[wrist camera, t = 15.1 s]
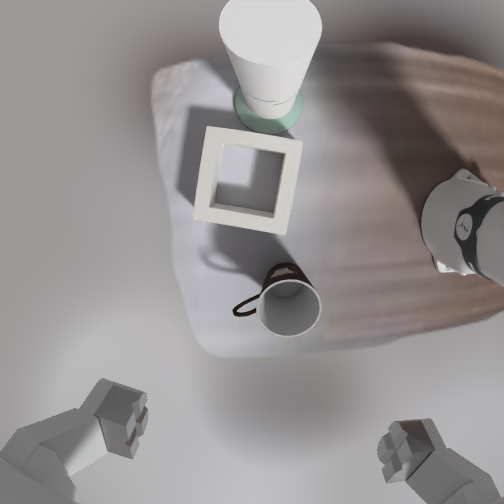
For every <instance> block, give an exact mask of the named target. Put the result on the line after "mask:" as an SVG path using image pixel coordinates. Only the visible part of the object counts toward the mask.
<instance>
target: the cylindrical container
mask: <svg viewBox="0 0 504 504" xmlns="http://www.w3.org/2000/svg"><path fill="white" fill-rule="evenodd" d="M219 31H220V35H221V38H222V40H223V43H224V45H225V48H226V50H227V53H228V55H229V58H230V60H231V63H232V66H233V68H234V71H235V73H236V76H237V78H238V81H239V84H240V86H241V89H242V92H243V94H244V97H245V100H246V102H247V105H248V107H249V108H250V110H251V111H252V112H253V113H254V114H255V115H257V116H259V117H261V118H265V119H277V118H280V117H282V116H284V115H285V114H287V113H288V112H289V111H290V109H291V108H292V106H293V104H294V101H295V99H296V96H297V94H298V91H299V89H300V86H301V84H302V81H303V79H304V76H305V74H306V71H307V69H308V67H309V64H310V62H311V59H312V57H313V54H314V52H315V49H316V47H317V44H318V42H319V40H320V37H321V33H322V20H321V18H320V15H319V12H318V11H317V9H316V8H315V6H314V5H313V4H312V3H311V2H310V1H309V0H230V1H229V2H228V3H227V4H226V5H225V7H224V9H223V11H222V12H221V15H220V18H219Z"/></svg>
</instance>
